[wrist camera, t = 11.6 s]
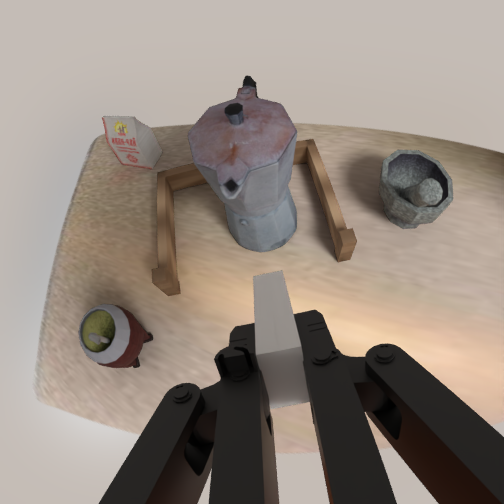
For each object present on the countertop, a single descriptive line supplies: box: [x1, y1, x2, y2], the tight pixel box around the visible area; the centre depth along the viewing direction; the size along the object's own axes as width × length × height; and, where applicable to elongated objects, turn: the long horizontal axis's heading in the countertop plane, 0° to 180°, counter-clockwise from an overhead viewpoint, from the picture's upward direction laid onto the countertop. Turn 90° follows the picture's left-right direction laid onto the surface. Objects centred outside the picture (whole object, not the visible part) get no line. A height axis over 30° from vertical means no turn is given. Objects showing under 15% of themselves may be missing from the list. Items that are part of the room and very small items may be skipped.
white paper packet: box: [102, 116, 163, 169], centre depth 45 cm, size 4×7×10 cm, turn 70°
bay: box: [152, 139, 357, 296], centre depth 39 cm, size 17×23×5 cm
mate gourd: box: [79, 304, 153, 368], centre depth 30 cm, size 8×8×15 cm
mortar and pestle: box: [379, 150, 453, 229], centre depth 34 cm, size 11×9×12 cm
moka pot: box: [188, 76, 297, 252], centre depth 32 cm, size 10×15×20 cm, turn 178°
